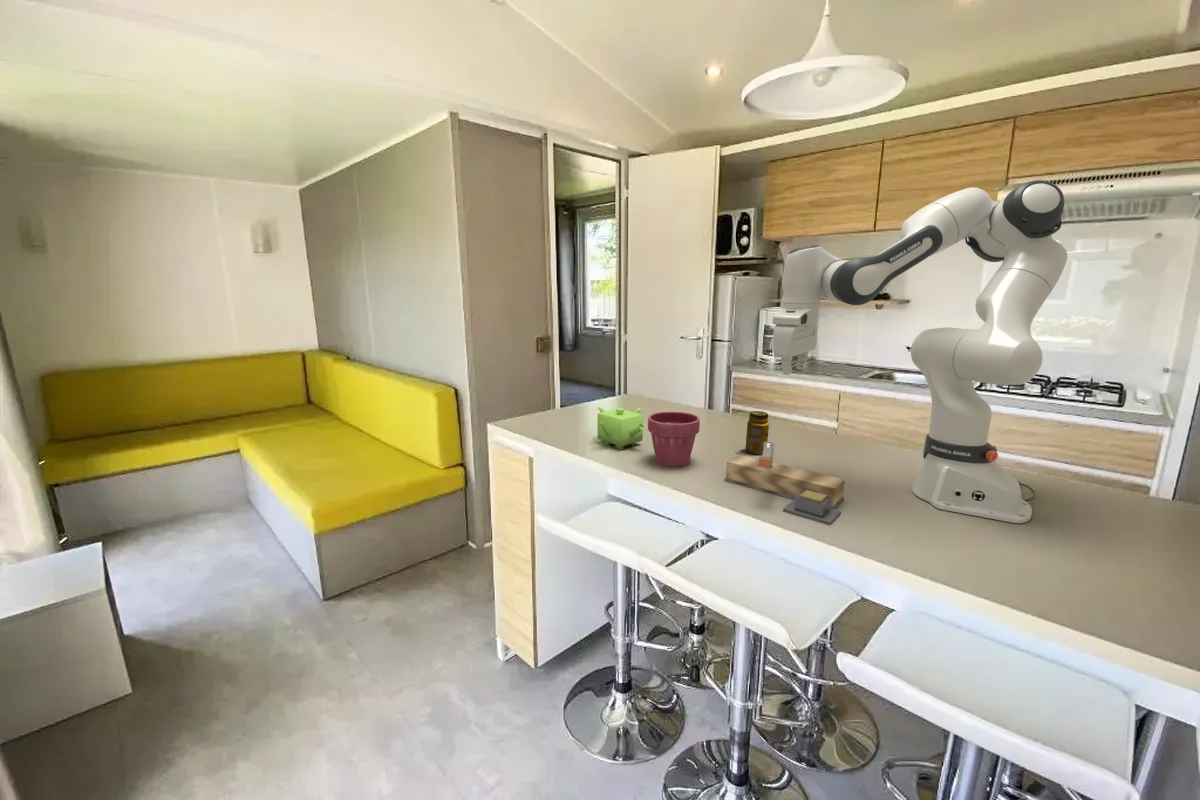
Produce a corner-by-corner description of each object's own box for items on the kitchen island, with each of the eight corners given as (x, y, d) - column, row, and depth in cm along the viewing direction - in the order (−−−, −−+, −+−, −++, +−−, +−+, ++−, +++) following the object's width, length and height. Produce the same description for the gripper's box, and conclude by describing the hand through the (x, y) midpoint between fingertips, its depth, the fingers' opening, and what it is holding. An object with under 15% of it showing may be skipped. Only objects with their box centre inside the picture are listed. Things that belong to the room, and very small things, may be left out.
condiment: (772, 452, 152) (775, 413, 150) (757, 459, 147) (760, 418, 144) (750, 446, 158) (753, 408, 155) (735, 453, 152) (737, 413, 149)
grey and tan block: (830, 510, 113) (831, 495, 112) (822, 517, 109) (824, 502, 108) (802, 502, 117) (804, 488, 116) (794, 509, 113) (795, 494, 112)
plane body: (843, 499, 120) (846, 479, 119) (833, 510, 114) (835, 489, 113) (738, 472, 137) (739, 454, 135) (724, 480, 131) (725, 461, 130)
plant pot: (655, 450, 154) (656, 408, 151) (702, 456, 149) (704, 413, 146) (640, 466, 141) (641, 420, 138) (691, 473, 136) (693, 426, 133)
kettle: (597, 436, 167) (597, 402, 165) (641, 437, 167) (641, 403, 165) (596, 451, 153) (596, 414, 150) (644, 452, 153) (645, 415, 150)
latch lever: (768, 484, 115) (770, 460, 114) (757, 483, 116) (759, 458, 115) (772, 464, 127) (774, 442, 126) (762, 463, 128) (764, 441, 127)
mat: (840, 513, 113) (840, 511, 112) (830, 525, 107) (830, 522, 107) (794, 501, 119) (795, 498, 119) (782, 511, 114) (783, 508, 114)
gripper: (800, 312, 135) (796, 365, 138) (769, 317, 120) (765, 375, 123) (825, 313, 131) (820, 367, 134) (797, 318, 116) (791, 379, 119)
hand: (793, 371), depth 128 cm, fingers open, 8 cm apart
